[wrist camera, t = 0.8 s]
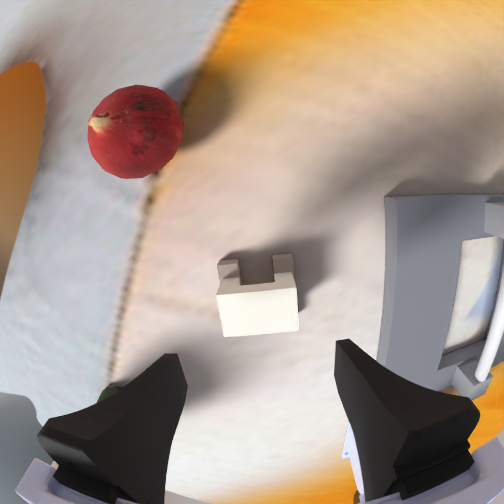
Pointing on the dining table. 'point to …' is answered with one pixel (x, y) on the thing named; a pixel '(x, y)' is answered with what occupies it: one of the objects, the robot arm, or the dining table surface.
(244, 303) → the white notched u-block
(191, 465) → the dining table surface
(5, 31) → the dining table surface
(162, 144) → the onion
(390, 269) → the grey piece
